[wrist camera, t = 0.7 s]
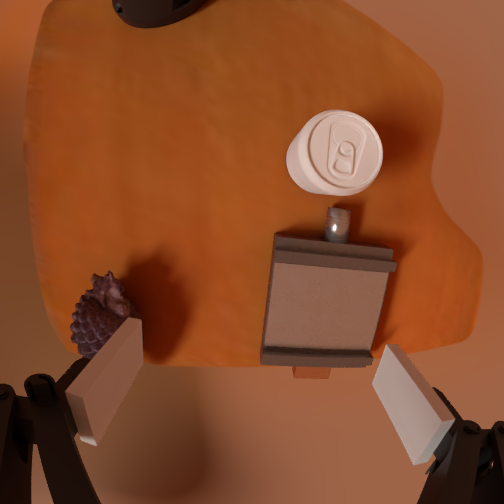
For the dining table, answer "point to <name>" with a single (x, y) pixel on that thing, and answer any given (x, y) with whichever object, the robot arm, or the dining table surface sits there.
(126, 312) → the pine cone
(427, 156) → the dining table surface
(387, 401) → the robot arm
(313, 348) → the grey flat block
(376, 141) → the beverage can
